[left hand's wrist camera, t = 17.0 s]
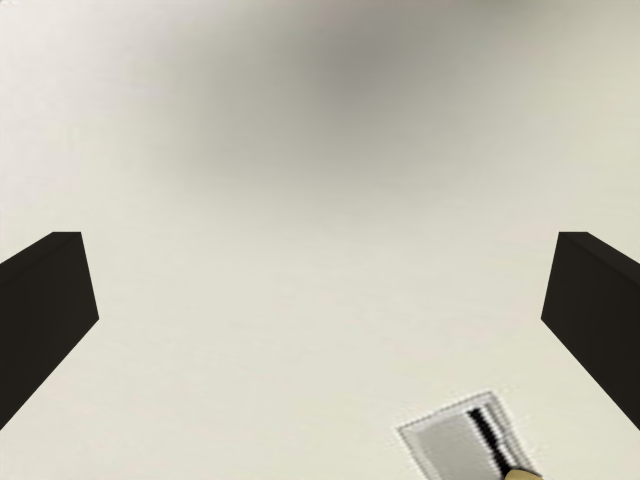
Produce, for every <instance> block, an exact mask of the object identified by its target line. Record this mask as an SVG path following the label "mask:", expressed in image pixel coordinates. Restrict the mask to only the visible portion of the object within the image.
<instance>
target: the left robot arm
mask: <svg viewBox="0 0 640 480" xmlns="http://www.w3.org/2000/svg"><path fill="white" fill-rule="evenodd" d="M98 320H99V315H98V311H97V306H96V301H95V296H94V292H93V287H92V282H91V277H90V273H89V268H88V263H87V258H86V254H85V249H84V244H83V240H82V235H81V232H52V233H50V234H49V235H47V236H45V237H44V238H42V239H40V240H39V241H37V242H35V243H34V244H32V245H30V246H29V247H27V248H26V249H24V250H22V251H21V252H19V253H17V254H16V255H14V256H12V257H11V258H9V259H7V260H6V261H4V262H2V263H1V264H0V430H1V429H2V428H3V427H4V426H5V425H6V424H7V422H8V421H9V420H10V419H11V418H12V417H13V416H14V415H15V413H16V412H17V411H18V410H19V409H20V408H21V407H22V406H23V404H24V403H25V402H26V401H27V400H28V399H29V398H30V396H31V395H32V394H33V393H34V392H35V391H36V390H37V389H38V387H39V386H40V385H41V384H42V383H43V382H44V381H45V380H46V378H47V377H48V376H49V375H50V374H51V373H52V372H53V371H54V369H55V368H56V367H57V366H58V365H59V364H60V363H61V362H62V360H63V359H64V358H65V357H66V356H67V355H68V354H69V352H70V351H71V350H72V349H73V348H74V347H75V346H76V345H77V343H78V342H79V341H80V340H81V339H82V338H83V337H84V336H85V334H86V333H87V332H88V331H89V330H90V329H91V328H92V327H93V325H94V324H95V323H96V322H97V321H98ZM541 320H542V321H543V322H544V323H545V324H546V325H547V327H548V328H549V329H550V330H551V331H552V332H553V333H554V334H555V336H556V337H557V338H558V339H559V340H560V341H561V342H562V343H563V345H564V346H565V347H566V348H567V349H568V350H569V351H570V352H571V354H572V355H573V356H574V357H575V358H576V359H577V360H578V362H579V363H580V364H581V365H582V366H583V367H584V368H585V369H586V371H587V372H588V373H589V374H590V375H591V376H592V377H593V378H594V380H595V381H596V382H597V383H598V384H599V385H600V386H601V387H602V389H603V390H604V391H605V392H606V393H607V394H608V395H609V396H610V398H611V399H612V400H613V401H614V402H615V403H616V404H617V406H618V407H619V408H620V409H621V410H622V411H623V412H624V413H625V415H626V416H627V417H628V418H629V419H630V420H631V421H632V422H633V424H634V425H635V426H636V427H637V428H638V429H639V430H640V264H639V263H638V262H636V261H634V260H633V259H631V258H629V257H628V256H626V255H624V254H623V253H621V252H619V251H618V250H616V249H614V248H613V247H611V246H610V245H608V244H606V243H605V242H603V241H601V240H600V239H598V238H596V237H595V236H593V235H591V234H590V233H588V232H559V235H558V240H557V244H556V249H555V254H554V258H553V263H552V268H551V273H550V277H549V282H548V287H547V292H546V296H545V301H544V306H543V311H542V315H541Z"/></svg>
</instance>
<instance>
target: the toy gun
mask: <svg viewBox="0 0 640 480" xmlns="http://www.w3.org/2000/svg"><path fill="white" fill-rule="evenodd" d="M505 480H543V479H542V478H540V477H538V476H536V475H533V474H531V473H528V472H526V471H522V470H510V472H509V473H508V474H507V476H506V477H505Z"/></svg>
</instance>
